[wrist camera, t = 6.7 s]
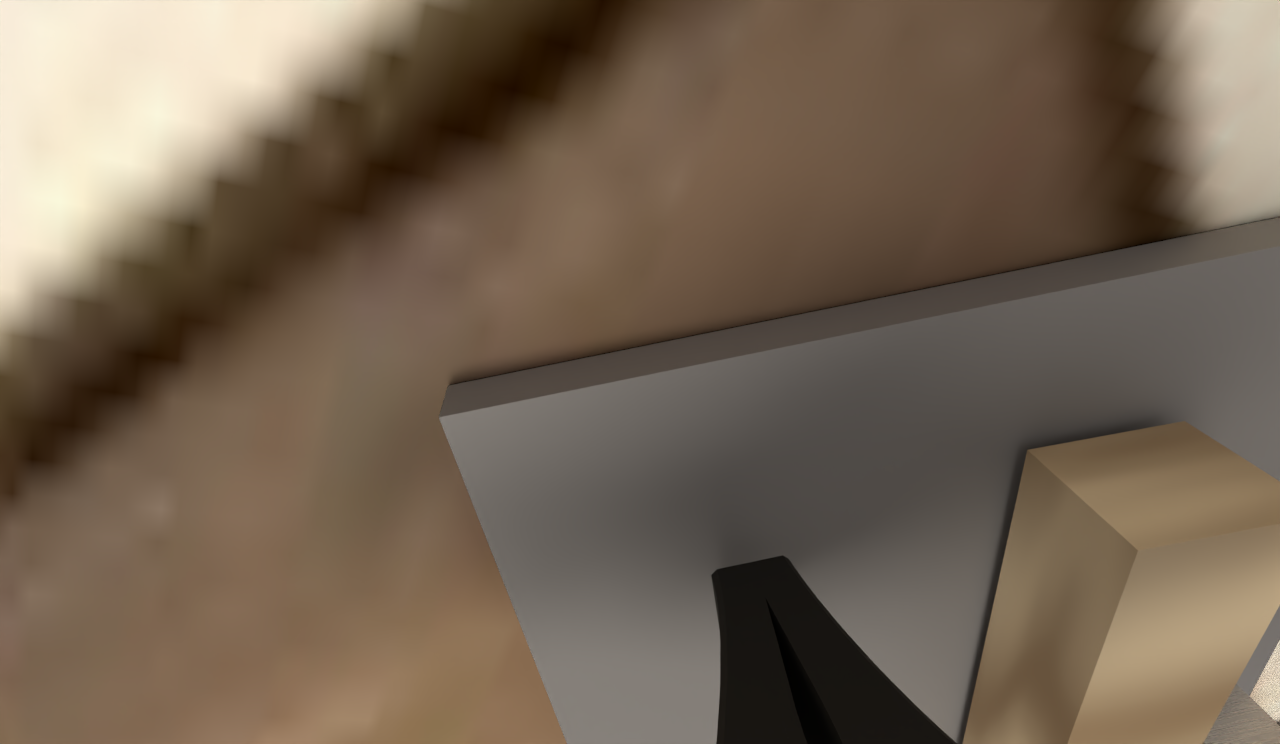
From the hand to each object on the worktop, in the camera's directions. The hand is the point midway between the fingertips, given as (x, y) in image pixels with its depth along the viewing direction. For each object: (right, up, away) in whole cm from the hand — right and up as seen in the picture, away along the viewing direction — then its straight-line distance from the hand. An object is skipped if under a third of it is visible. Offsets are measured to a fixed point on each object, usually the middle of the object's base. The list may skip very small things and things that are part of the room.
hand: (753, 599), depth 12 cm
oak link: (+7, -3, +3) cm, 9 cm away
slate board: (+5, -2, +4) cm, 7 cm away
